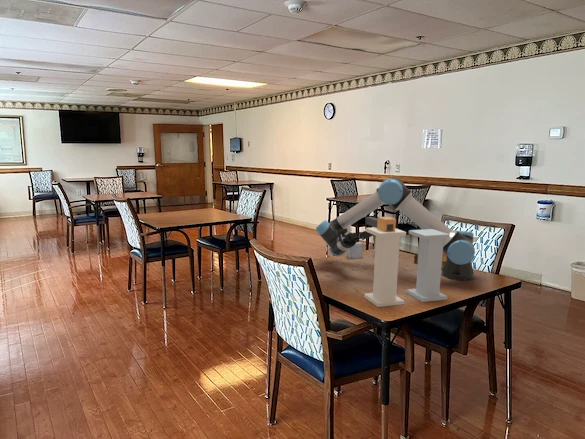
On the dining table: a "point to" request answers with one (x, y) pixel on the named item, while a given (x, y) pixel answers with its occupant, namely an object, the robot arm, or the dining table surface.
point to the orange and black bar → (382, 223)
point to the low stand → (429, 265)
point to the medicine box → (355, 251)
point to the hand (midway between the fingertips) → (364, 226)
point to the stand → (385, 268)
